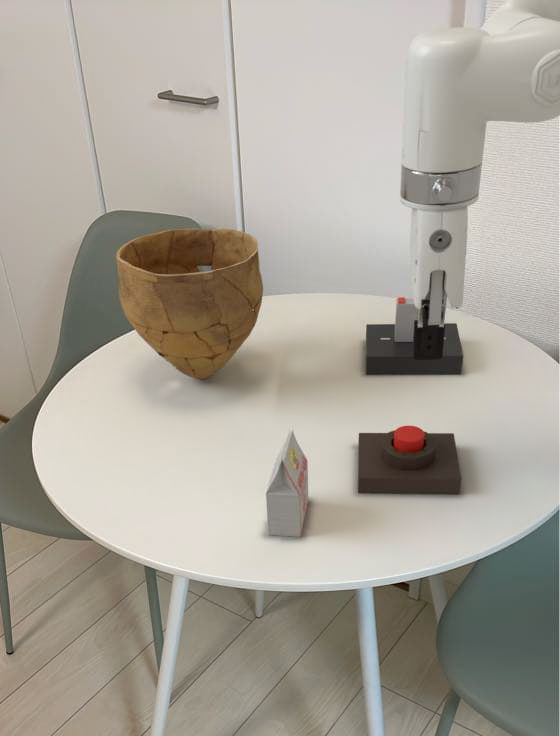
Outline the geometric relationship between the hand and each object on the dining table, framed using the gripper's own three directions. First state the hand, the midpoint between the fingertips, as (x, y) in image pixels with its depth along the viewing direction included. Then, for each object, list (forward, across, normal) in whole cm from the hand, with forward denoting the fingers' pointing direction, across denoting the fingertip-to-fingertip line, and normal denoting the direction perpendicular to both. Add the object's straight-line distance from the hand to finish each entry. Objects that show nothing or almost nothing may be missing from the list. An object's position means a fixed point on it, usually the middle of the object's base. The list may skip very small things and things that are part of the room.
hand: (427, 355), depth 85 cm
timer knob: (+12, +29, -1) cm, 32 cm away
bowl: (+15, +23, +32) cm, 42 cm away
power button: (+12, -1, +2) cm, 12 cm away
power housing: (+15, -1, +2) cm, 15 cm away
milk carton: (+15, -11, +16) cm, 24 cm away
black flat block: (+15, +29, 0) cm, 33 cm away
